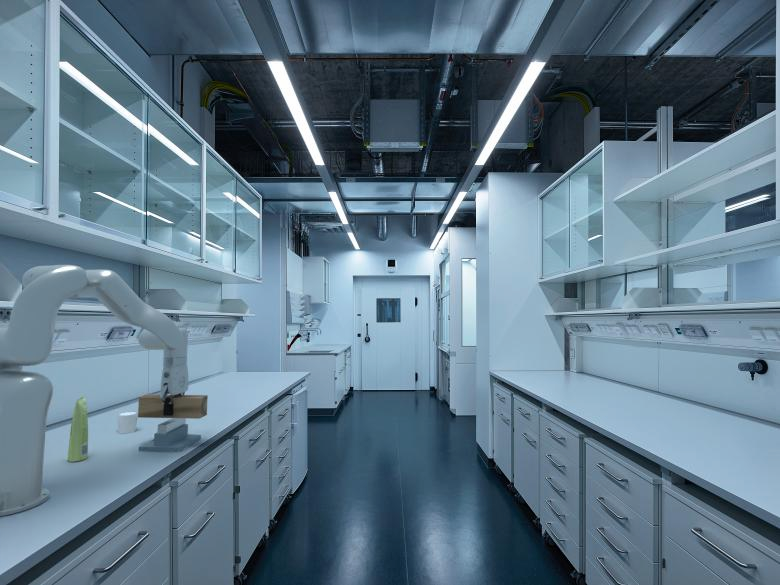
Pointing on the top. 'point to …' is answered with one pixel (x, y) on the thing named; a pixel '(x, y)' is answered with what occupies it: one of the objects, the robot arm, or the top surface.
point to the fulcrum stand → (170, 437)
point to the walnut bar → (182, 406)
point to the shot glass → (127, 422)
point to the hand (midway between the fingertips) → (173, 412)
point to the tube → (79, 432)
